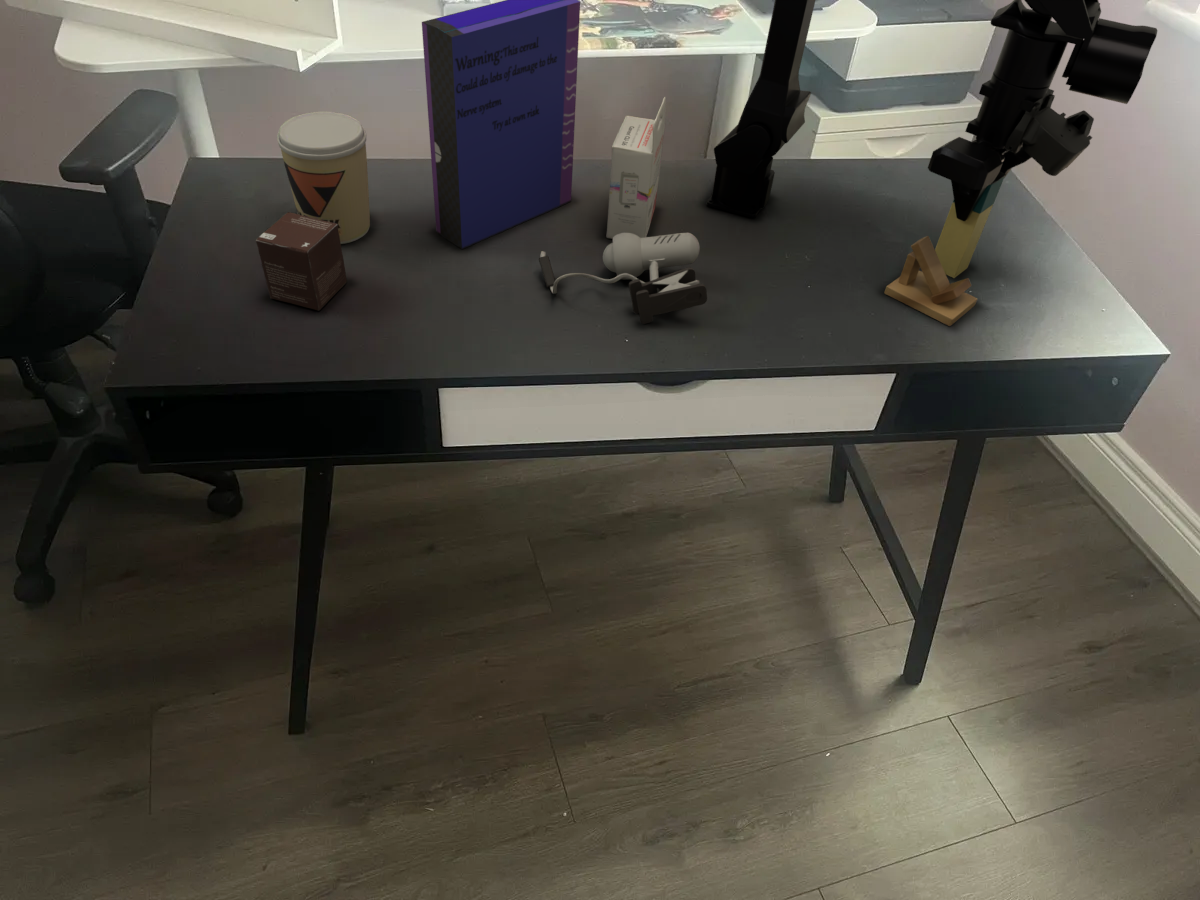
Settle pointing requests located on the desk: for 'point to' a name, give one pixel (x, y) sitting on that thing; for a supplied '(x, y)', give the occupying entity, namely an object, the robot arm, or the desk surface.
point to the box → (302, 260)
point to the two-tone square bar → (964, 233)
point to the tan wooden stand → (930, 286)
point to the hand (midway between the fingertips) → (969, 214)
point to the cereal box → (501, 114)
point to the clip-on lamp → (650, 254)
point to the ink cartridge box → (635, 174)
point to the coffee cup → (328, 170)
